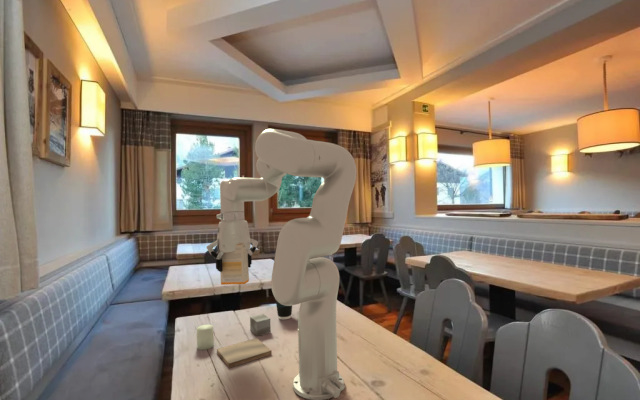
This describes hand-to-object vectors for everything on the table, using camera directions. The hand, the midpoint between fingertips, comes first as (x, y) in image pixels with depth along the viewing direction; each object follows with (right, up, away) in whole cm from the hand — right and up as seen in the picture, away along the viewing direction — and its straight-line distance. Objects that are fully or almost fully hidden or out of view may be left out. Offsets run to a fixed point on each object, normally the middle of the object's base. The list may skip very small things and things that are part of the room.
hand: (234, 268), depth 108 cm
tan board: (+5, -24, -9) cm, 26 cm away
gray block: (+7, -24, +7) cm, 26 cm away
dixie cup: (+14, -24, +21) cm, 34 cm away
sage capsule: (-8, -24, -4) cm, 26 cm away
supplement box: (0, -5, 0) cm, 5 cm away
